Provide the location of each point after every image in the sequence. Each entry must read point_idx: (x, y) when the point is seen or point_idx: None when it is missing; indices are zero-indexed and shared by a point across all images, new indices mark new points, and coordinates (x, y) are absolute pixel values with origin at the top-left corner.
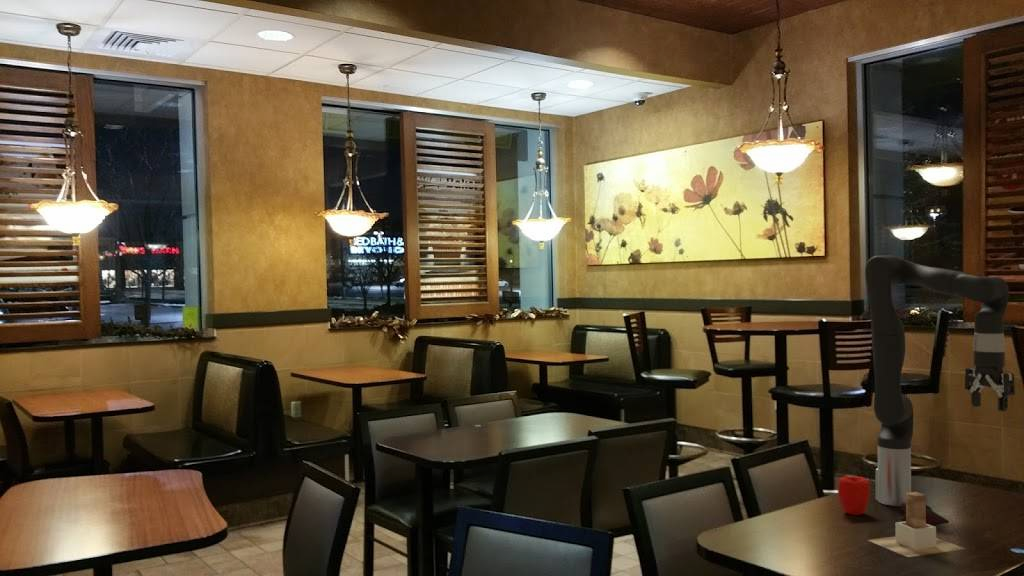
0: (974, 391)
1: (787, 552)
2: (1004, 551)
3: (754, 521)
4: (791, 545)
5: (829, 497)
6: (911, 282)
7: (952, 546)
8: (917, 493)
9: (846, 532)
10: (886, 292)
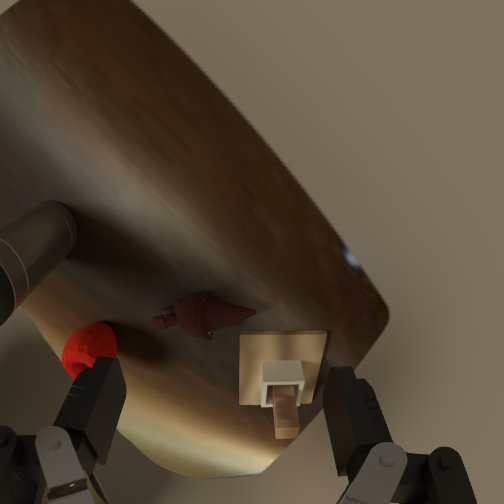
0: (93, 472)
1: (233, 455)
2: (350, 277)
3: (125, 430)
4: (214, 446)
5: None
6: None
7: (310, 342)
8: (286, 430)
9: (188, 393)
10: None
